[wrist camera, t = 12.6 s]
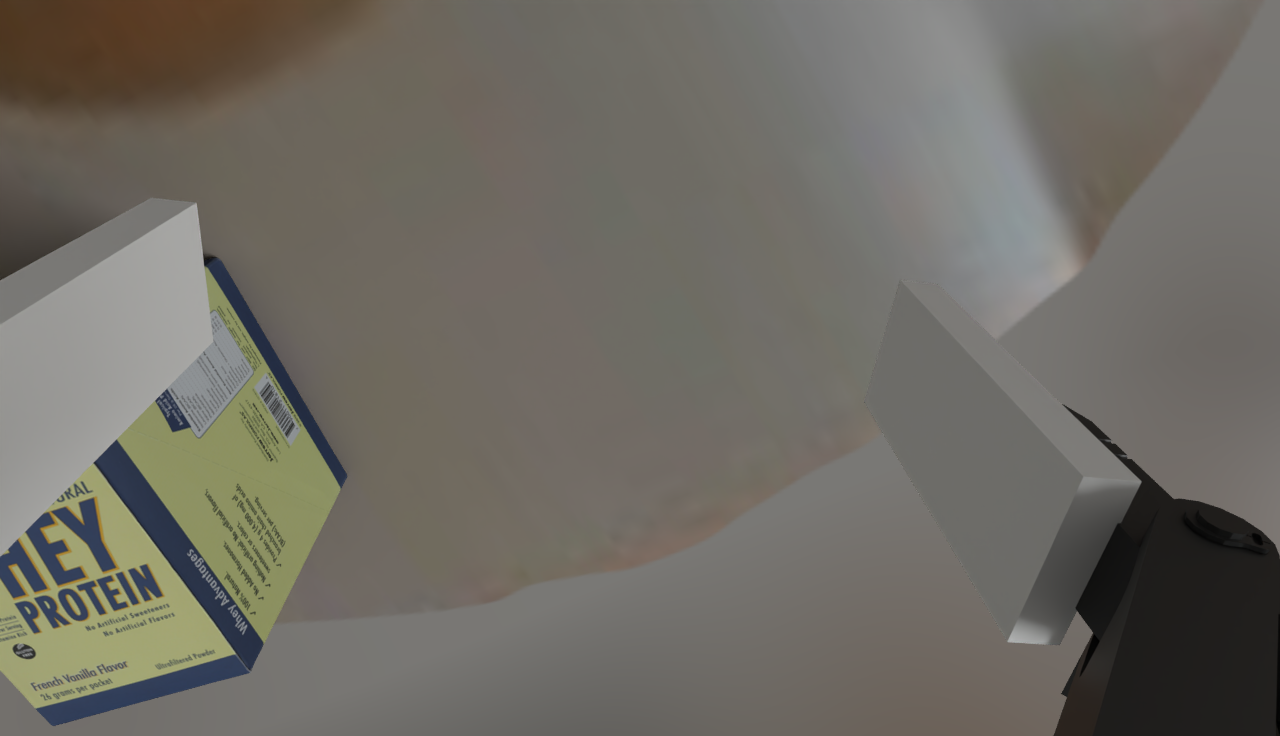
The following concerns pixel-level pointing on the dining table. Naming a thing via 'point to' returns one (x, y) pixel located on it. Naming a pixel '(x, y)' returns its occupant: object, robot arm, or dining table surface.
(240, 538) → the protein box
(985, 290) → the dining table surface
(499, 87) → the dining table surface
